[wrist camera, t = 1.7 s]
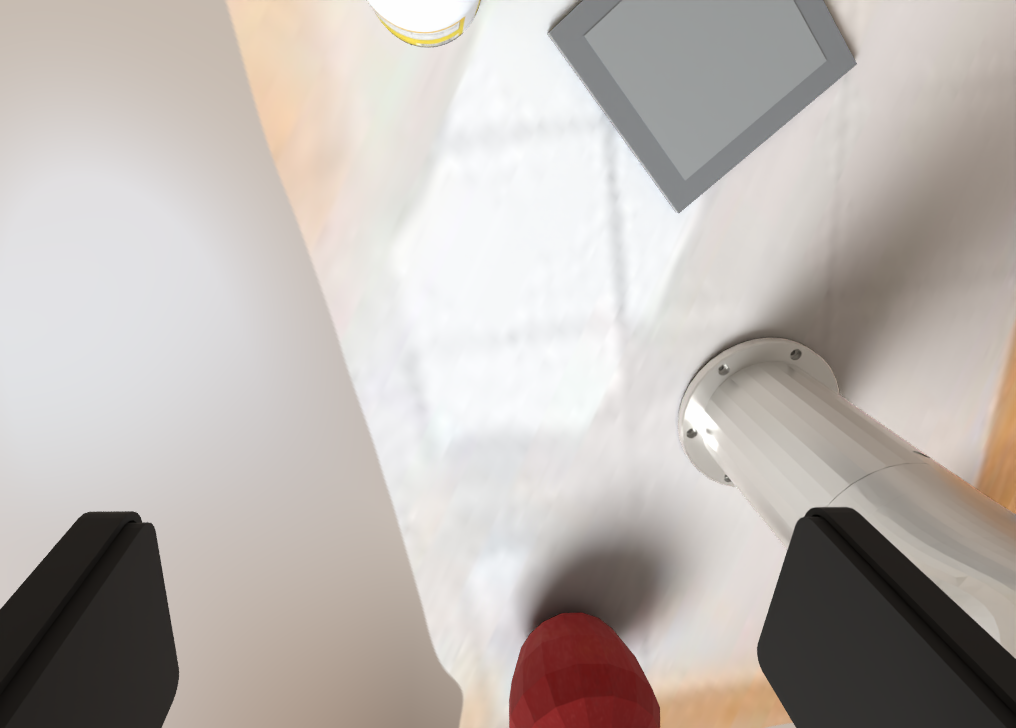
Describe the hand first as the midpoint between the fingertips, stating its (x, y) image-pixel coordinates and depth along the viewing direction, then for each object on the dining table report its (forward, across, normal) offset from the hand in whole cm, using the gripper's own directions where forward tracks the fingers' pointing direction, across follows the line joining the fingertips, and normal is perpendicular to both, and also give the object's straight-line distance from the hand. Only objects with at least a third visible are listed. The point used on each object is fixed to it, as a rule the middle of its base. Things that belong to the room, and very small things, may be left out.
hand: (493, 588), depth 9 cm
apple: (+33, -12, +36) cm, 50 cm away
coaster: (+34, -16, -11) cm, 39 cm away
